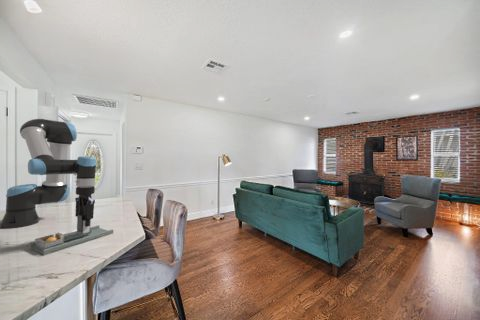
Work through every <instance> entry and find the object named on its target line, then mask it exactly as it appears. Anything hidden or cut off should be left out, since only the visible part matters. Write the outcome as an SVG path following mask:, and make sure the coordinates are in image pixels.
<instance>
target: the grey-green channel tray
mask: <svg viewBox="0 0 480 320" xmlns="http://www.w3.org/2000/svg"><path fill="white" fill-rule="evenodd" d="M90 228H91V233H90V234H87V235H83V236H80V237H76V238H73V239H69V240H66V241H64V243H63V244H62V245H58V246H55V247H52V248H48V249H45V250H43V251H42V250H40V249H38V248H36V247H35V241H34V242H30V243H29V246H28V247H29V249H31V250H33V251H34V252H37V253H39V254H41V255H42V256H47V255H49V254H52V253H55V252H56V253H57V252H58V251H59V252H60V251H62V250H65V249H68V248H72V247H74V246H78V245H81V244H83V243H87V242H91V241H93V240H96V239H100V238H103V237H106V236H109V235H112V234H114V229H104V228H100V225H99V224H98V225H94V226H90Z"/></svg>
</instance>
